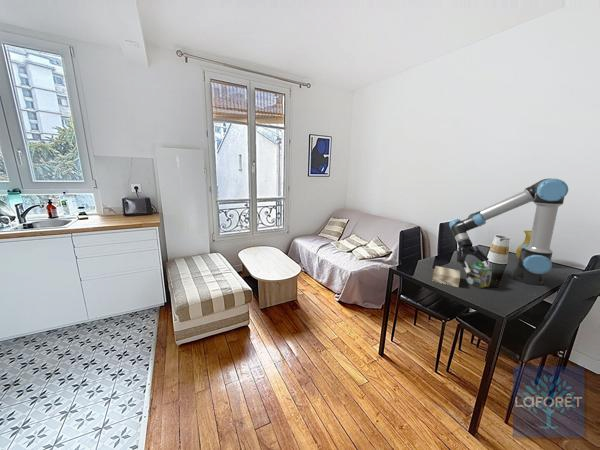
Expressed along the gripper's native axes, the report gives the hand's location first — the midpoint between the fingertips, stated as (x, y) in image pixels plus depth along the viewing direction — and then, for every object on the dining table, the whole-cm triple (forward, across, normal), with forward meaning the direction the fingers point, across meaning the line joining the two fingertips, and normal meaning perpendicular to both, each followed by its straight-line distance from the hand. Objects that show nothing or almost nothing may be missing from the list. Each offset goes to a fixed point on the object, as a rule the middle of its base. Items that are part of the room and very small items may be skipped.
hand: (478, 272), depth 148 cm
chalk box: (+6, 0, -6) cm, 8 cm away
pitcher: (-15, -73, -26) cm, 79 cm away
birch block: (+1, +15, -11) cm, 19 cm away
